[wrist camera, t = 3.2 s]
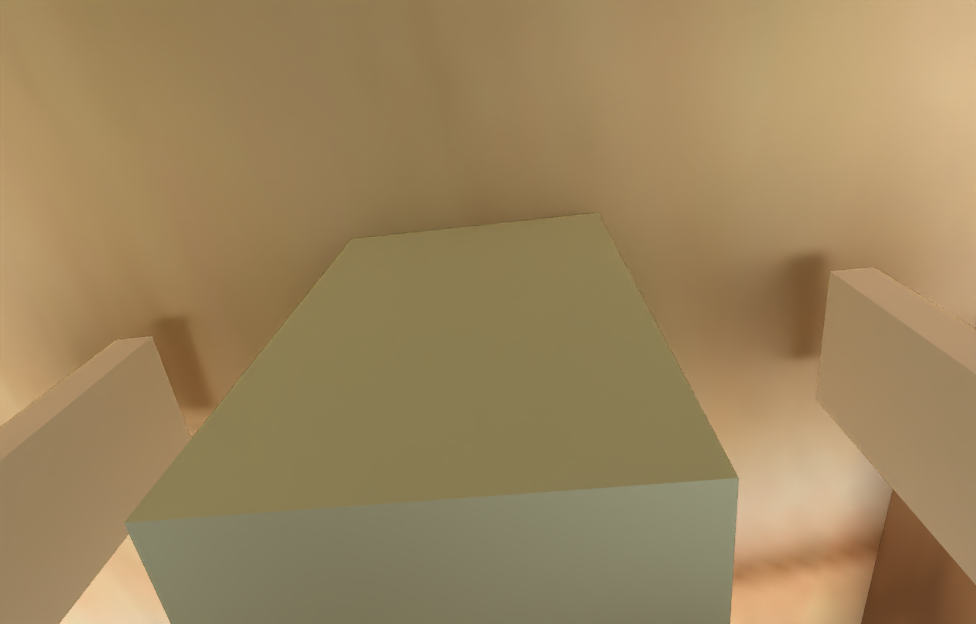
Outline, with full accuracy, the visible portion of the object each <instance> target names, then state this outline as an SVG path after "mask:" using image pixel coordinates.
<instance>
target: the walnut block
mask: <svg viewBox="0 0 976 624" xmlns="http://www.w3.org/2000/svg"><path fill="white" fill-rule="evenodd" d="M861 624H976V585H975V584H974V582H973V581H972V580H971V579H970V578H969V577H968V575H967V574H966V573H965V572H964V571H963V570H962V568H961V567H960V566H959V565H958V564H957V563H956V561H955V560H954V559H953V558H952V557H951V556H950V555H949V553H948V552H947V551H946V550H945V549H944V548H943V546H942V545H941V544H940V543H939V542H938V541H937V539H936V538H935V537H934V536H933V535H932V534H931V532H930V531H929V530H928V529H927V528H926V527H925V525H924V524H923V523H922V522H921V521H920V520H919V519H918V517H917V516H916V515H915V514H914V513H913V512H912V510H911V509H910V508H909V507H908V506H907V505H906V503H905V502H904V501H903V500H902V499H901V498H900V496H899V495H898V494H897V493H896V492H895V491H894V489H893V491H892V496H891V500H890V504H889V508H888V512H887V517H886V521H885V525H884V529H883V534H882V538H881V542H880V546H879V550H878V555H877V559H876V563H875V567H874V571H873V576H872V580H871V584H870V588H869V592H868V597H867V601H866V605H865V609H864V614H863V618H862V622H861Z"/></svg>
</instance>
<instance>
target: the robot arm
mask: <svg viewBox="0 0 976 624" xmlns="http://www.w3.org/2000/svg"><path fill="white" fill-rule="evenodd" d="M816 400H817V401H818V402H819V403H820V405H821V406H822V407H823V408H824V409H825V410H826V412H827V413H828V414H829V415H830V416H831V417H832V419H833V420H834V421H835V422H836V423H837V424H838V426H839V427H840V428H841V429H842V430H843V431H844V433H845V434H846V435H847V436H848V437H849V438H850V439H851V441H852V442H853V443H854V444H855V445H856V446H857V448H858V449H859V450H860V451H861V452H862V453H863V455H864V456H865V457H866V458H867V459H868V460H869V462H870V463H871V464H872V465H873V466H874V467H875V469H876V470H877V471H878V472H879V473H880V474H881V476H882V477H883V478H884V479H885V480H886V481H887V482H888V484H889V485H890V486H891V487H892V488H893V489H894V491H895V492H896V493H897V494H898V495H899V496H900V498H901V499H902V500H903V501H904V502H905V503H906V505H907V506H908V507H909V508H910V509H911V510H912V512H913V513H914V514H915V515H916V516H917V517H918V519H919V520H920V521H921V522H922V523H923V524H924V525H925V527H926V528H927V529H928V530H929V531H930V532H931V534H932V535H933V536H934V537H935V538H936V539H937V541H938V542H939V543H940V544H941V545H942V546H943V548H944V549H945V550H946V551H947V552H948V553H949V555H950V556H951V557H952V558H953V559H954V560H955V561H956V563H957V564H958V565H959V566H960V567H961V568H962V570H963V571H964V572H965V573H966V574H967V575H968V577H969V578H970V579H971V580H972V581H973V582H974V584H975V585H976V329H974V328H973V327H971V326H969V325H968V324H966V323H964V322H963V321H961V320H960V319H958V318H956V317H955V316H953V315H951V314H950V313H948V312H946V311H945V310H943V309H942V308H940V307H938V306H937V305H935V304H933V303H932V302H930V301H929V300H927V299H925V298H924V297H922V296H920V295H919V294H917V293H915V292H914V291H912V290H911V289H909V288H907V287H906V286H904V285H902V284H901V283H899V282H898V281H896V280H894V279H893V278H891V277H889V276H888V275H886V274H885V273H883V272H881V271H880V270H878V269H876V268H875V267H866V268H856V269H846V270H835V271H830V277H829V286H828V294H827V303H826V312H825V320H824V329H823V338H822V346H821V355H820V364H819V373H818V381H817V390H816ZM190 440H191V437H190V434H189V432H188V429H187V426H186V424H185V421H184V418H183V416H182V413H181V411H180V408H179V405H178V403H177V400H176V397H175V395H174V392H173V389H172V387H171V384H170V382H169V379H168V376H167V374H166V371H165V368H164V366H163V363H162V360H161V358H160V355H159V353H158V350H157V347H156V345H155V342H154V339H153V337H152V336H149V337H139V338H129V339H118V340H115V341H114V342H112V343H111V344H110V345H108V346H107V347H106V348H105V349H103V350H102V351H101V352H99V353H98V354H97V355H95V356H94V357H93V358H91V359H90V360H89V361H87V362H86V363H85V364H83V365H82V366H81V367H79V368H78V369H77V370H75V371H74V372H73V373H71V374H70V375H69V376H67V377H66V378H65V379H63V380H62V381H61V382H59V383H58V384H57V385H55V386H54V387H53V388H51V389H50V390H49V391H47V392H46V393H45V394H43V395H42V396H41V397H39V398H38V399H37V400H35V401H34V402H33V403H31V404H30V405H29V406H27V407H26V408H25V409H23V410H22V411H21V412H19V413H18V414H17V415H15V416H14V417H13V418H11V419H10V420H9V421H7V422H6V423H5V424H3V425H2V426H1V427H0V624H59V623H60V622H61V621H62V619H63V618H64V617H65V615H66V614H67V613H68V612H69V610H70V609H71V608H72V606H73V605H74V604H75V603H76V601H77V600H78V599H79V597H80V596H81V595H82V594H83V592H84V591H85V590H86V588H87V587H88V586H89V585H90V583H91V582H92V581H93V579H94V578H95V577H96V576H97V574H98V573H99V572H100V570H101V569H102V568H103V567H104V565H105V564H106V563H107V561H108V560H109V559H110V558H111V556H112V555H113V554H114V552H115V551H116V550H117V548H118V547H119V546H120V545H121V543H122V542H123V541H124V539H125V538H126V537H127V536H128V534H129V533H128V530H127V528H126V526H125V524H124V522H125V521H126V520H127V518H128V517H129V516H130V515H131V513H132V512H133V511H134V510H135V508H136V507H137V506H138V505H139V503H140V502H141V501H142V500H143V498H144V497H145V496H146V495H147V493H148V492H149V491H150V490H151V488H152V487H153V486H154V485H155V483H156V482H157V481H158V480H159V478H160V477H161V476H162V475H163V473H164V472H165V471H166V470H167V468H168V467H169V466H170V465H171V463H172V462H173V461H174V460H175V458H176V457H177V456H178V455H179V453H180V452H181V451H182V450H183V448H184V447H185V446H186V445H187V443H188V442H189V441H190Z"/></svg>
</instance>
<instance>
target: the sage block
mask: <svg viewBox="0 0 976 624" xmlns="http://www.w3.org/2000/svg"><path fill="white" fill-rule="evenodd" d="M738 481H739V478H738V476H737V474H736V472H735V470H734V468H733V466H732V464H731V463H730V461H729V459H728V457H727V455H726V453H725V451H724V449H723V448H722V446H721V444H720V442H719V440H718V438H717V436H716V434H715V432H714V431H713V429H712V427H711V425H710V423H709V421H708V419H707V417H706V415H705V414H704V412H703V410H702V408H701V406H700V404H699V402H698V400H697V398H696V397H695V395H694V393H693V391H692V389H691V387H690V385H689V383H688V381H687V380H686V378H685V376H684V374H683V372H682V370H681V368H680V366H679V364H678V363H677V361H676V359H675V357H674V355H673V353H672V351H671V349H670V347H669V346H668V344H667V342H666V340H665V338H664V336H663V334H662V332H661V330H660V329H659V327H658V325H657V323H656V321H655V319H654V317H653V315H652V313H651V312H650V310H649V308H648V306H647V304H646V302H645V300H644V298H643V296H642V295H641V293H640V291H639V289H638V287H637V285H636V283H635V281H634V279H633V278H632V276H631V274H630V272H629V270H628V268H627V266H626V264H625V262H624V261H623V259H622V257H621V255H620V253H619V251H618V249H617V247H616V245H615V244H614V242H613V240H612V238H611V236H610V234H609V232H608V230H607V228H606V227H605V225H604V223H603V221H602V219H601V217H600V215H599V213H589V214H580V215H571V216H561V217H552V218H542V219H533V220H524V221H514V222H505V223H495V224H486V225H477V226H467V227H458V228H448V229H439V230H430V231H420V232H411V233H402V234H392V235H383V236H373V237H364V238H355V239H351V240H350V241H349V242H348V244H347V245H346V246H345V247H344V249H343V250H342V251H341V252H340V254H339V255H338V256H337V257H336V259H335V260H334V261H333V262H332V264H331V265H330V266H329V267H328V269H327V270H326V271H325V272H324V274H323V275H322V276H321V277H320V279H319V280H318V281H317V282H316V284H315V285H314V286H313V287H312V289H311V290H310V291H309V292H308V294H307V295H306V296H305V297H304V299H303V300H302V301H301V302H300V304H299V305H298V306H297V307H296V309H295V310H294V311H293V312H292V314H291V315H290V316H289V317H288V319H287V320H286V321H285V322H284V324H283V325H282V326H281V327H280V329H279V330H278V331H277V332H276V334H275V335H274V336H273V337H272V339H271V340H270V341H269V342H268V344H267V345H266V346H265V347H264V349H263V350H262V351H261V352H260V354H259V355H258V356H257V357H256V359H255V360H254V361H253V362H252V364H251V365H250V366H249V367H248V369H247V370H246V371H245V372H244V374H243V375H242V376H241V377H240V379H239V380H238V381H237V382H236V384H235V385H234V386H233V387H232V389H231V390H230V391H229V392H228V394H227V395H226V396H225V397H224V399H223V400H222V401H221V402H220V404H219V405H218V406H217V407H216V409H215V410H214V411H213V412H212V414H211V415H210V416H209V417H208V419H207V420H206V421H205V422H204V423H203V425H202V426H201V427H200V428H199V430H198V431H197V432H196V433H195V435H194V436H193V437H192V438H191V440H190V441H189V442H188V443H187V445H186V446H185V447H184V448H183V450H182V451H181V452H180V453H179V455H178V456H177V457H176V458H175V460H174V461H173V462H172V463H171V465H170V466H169V467H168V468H167V470H166V471H165V472H164V473H163V475H162V476H161V477H160V478H159V480H158V481H157V482H156V483H155V485H154V486H153V487H152V488H151V490H150V491H149V492H148V493H147V495H146V496H145V497H144V498H143V500H142V501H141V502H140V503H139V505H138V506H137V507H136V508H135V510H134V511H133V512H132V513H131V515H130V516H129V517H128V518H127V520H126V521H125V522H124V524H125V526H126V528H127V530H128V533H129V535H130V537H131V539H132V541H133V543H134V545H135V548H136V550H137V552H138V554H139V556H140V558H141V560H142V563H143V565H144V567H145V569H146V571H147V573H148V575H149V578H150V580H151V582H152V584H153V586H154V588H155V590H156V593H157V595H158V597H159V599H160V601H161V603H162V606H163V608H164V610H165V612H166V614H167V616H168V618H169V621H170V623H171V624H730V614H731V597H732V581H733V564H734V547H735V531H736V514H737V497H738Z"/></svg>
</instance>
